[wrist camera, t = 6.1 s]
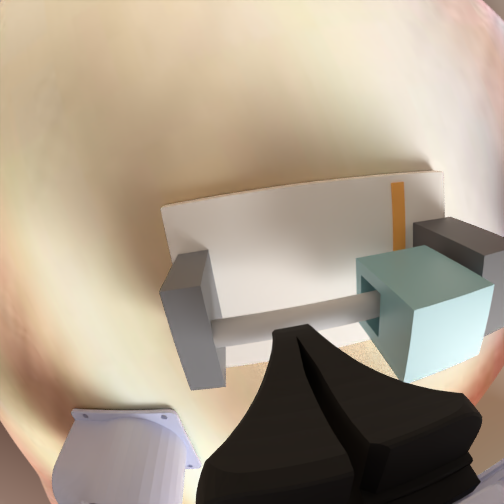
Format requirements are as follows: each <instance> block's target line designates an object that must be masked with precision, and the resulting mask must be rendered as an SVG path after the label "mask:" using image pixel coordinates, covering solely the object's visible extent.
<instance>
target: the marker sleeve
mask: <svg viewBox="0 0 504 504" xmlns="http://www.w3.org/2000/svg"><path fill="white" fill-rule="evenodd" d="M374 290H377V291H378V292H379V293H380V294H381V296H380V317H377V318H373V319H369V320H365V321H361V322H359V324H360V325H361V326H362V328H363V329H364V330H365V332H366V333H367V335H368V336H369V337H370V339H371V340H372V342H373V343H374V344H375V346H376V347H377V349H378V350H379V351H380V353H381V354H382V356H383V357H384V359H385V360H386V361H387V363H388V364H389V366H390V367H391V369H392V370H393V371H394V373H395V374H396V376H397V377H398V379H399V380H400V381H403V382H406V383H411V382H414V381H416V380H419V379H422V378H424V377H427V376H430V375H432V374H435V373H437V372H440V371H442V370H445V369H447V368H449V367H452V366H454V365H456V364H459V363H461V362H463V361H465V360H468V359H470V358H472V357H474V356H476V355H478V354H479V351H480V348H481V344H482V340H483V337H484V333H485V329H486V324H487V320H488V316H489V311H490V306H491V301H492V296H493V290H494V284H493V283H491V282H490V281H488V280H486V279H485V278H483V277H481V276H480V275H478V274H476V273H475V272H473V271H471V270H469V269H468V268H466V267H464V266H462V265H461V264H459V263H457V262H455V261H454V260H452V259H450V258H448V257H446V256H445V255H443V254H441V253H439V252H437V251H435V250H433V249H432V248H430V247H428V246H426V245H423V246H418V247H412V248H407V249H402V250H397V251H392V252H386V253H381V254H376V255H370V256H365V257H360V258H356V292H357V294H361V293H365V292H370V291H374Z"/></svg>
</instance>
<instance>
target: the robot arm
mask: <svg viewBox="0 0 504 504" xmlns="http://www.w3.org/2000/svg"><path fill="white" fill-rule="evenodd" d="M272 338H273V341H272V350H271V355H270V359H269V363H268V367H267V370H266V372H265V375H264V378H263V381H262V383H261V386H260V388H259V390H258V393H257V395H256V397H255V399H254V401H253V402H252V404H251V406H250V407H249V409H248V411H247V413H246V414H245V416H244V417H243V419H242V420H241V422H240V423H239V424H238V426H237V427H236V428H235V429H234V431H233V432H232V433H231V435H230V436H229V437H228V438H227V440H226V441H225V442H224V443H223V444H222V445H221V446H220V447H219V448H218V449H217V450H216V451H215V452H214V453H213V454H212V455H211V456H210V457H209V458H208V459H207V460H206V461H205V463H204V466H203V469H202V472H201V475H200V479H199V482H198V487H197V493H196V504H504V458H503V459H502V460H500V461H499V462H497V463H496V464H495V465H493V466H491V467H490V468H488V469H487V470H486V471H484V472H482V473H481V474H479V475H476V473H475V472H474V470H473V469H472V467H471V466H470V464H471V463H472V461H473V459H472V457H471V455H470V454H469V452H468V450H469V449H470V447H471V445H472V443H473V442H474V440H475V438H476V436H477V434H478V432H479V430H480V427H481V424H482V416H481V414H480V413H479V412H478V410H477V409H476V408H475V406H474V405H473V404H472V403H471V402H470V401H469V399H468V398H467V397H466V396H465V395H464V394H463V393H455V392H447V391H440V390H433V389H429V388H424V387H420V386H416V385H413V384H409V383H406V382H403V381H400V380H397V379H394V378H392V377H389V376H386V375H384V374H382V373H379V372H377V371H375V370H373V369H371V368H369V367H367V366H365V365H363V364H362V363H360V362H358V361H356V360H355V359H353V358H352V357H350V356H349V355H347V354H346V353H344V352H343V351H341V350H340V349H339V348H337V347H336V346H335V345H333V344H332V343H331V342H329V341H328V340H327V339H326V338H325V337H323V336H322V335H321V334H320V333H319V332H317V331H316V330H315V329H314V328H313V327H312V326H311V325H309V324H303V325H298V326H293V327H287V328H282V329H276V330H274V331H273V332H272ZM71 414H72V416H73V418H74V419H75V421H74V423H73V425H72V427H71V429H70V432H69V434H68V436H67V438H66V440H65V443H64V445H63V447H62V449H61V452H60V454H59V456H58V459H57V461H56V463H55V466H54V469H53V474H52V488H53V493H54V496H55V498H56V500H57V502H58V504H182V500H183V488H184V477H185V469H195V468H200V467H201V461H200V459H199V457H198V456H197V454H196V452H195V450H194V448H193V446H192V444H191V442H190V439H189V437H188V435H187V433H186V431H185V429H184V427H183V425H182V423H181V420H180V418H179V416H178V414H177V412H176V411H174V410H172V409H164V410H91V409H72V411H71ZM164 415H165V416H164Z"/></svg>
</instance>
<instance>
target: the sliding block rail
mask: <svg viewBox="0 0 504 504" xmlns="http://www.w3.org/2000/svg"><path fill="white" fill-rule="evenodd" d="M160 209H161V214H162V219H163V224H164V229H165V233H166V238H167V242H168V247H169V251H170V256H171V260H172V264H173V265H172V267H171V269H170V271H169V273H168V275H167V277H166V279H165V281H164V283H163V285H162V287H161V289H160V291H159V293H160V296H161V300H162V303H163V307H164V310H165V313H166V317H167V320H168V323H169V327H170V330H171V333H172V336H173V340H174V343H175V346H176V349H177V352H178V355H179V358H180V361H181V364H182V367H183V370H184V372H185V375H186V378H187V381H188V384H189V387H190V389H191V390H200V389H210V388H219V387H226V368H227V367H235V366H242V365H249V364H255V363H261V362H268V361H269V359H270V355H271V350H272V341H273V338H272V332H273V331H274V330H276V329H282V328H287V327H293V326H298V325H303V324H309V325H311V326H312V327H313V328H314V329H315V330H316V331H317V332H319V333H320V334H321V335H322V336H323V337H325V338H326V339H327V340H328V341H329V342H331V343H332V344H333V345H335V346H336V347H337V348H338V347H342V346H347V345H351V344H355V343H359V342H363V341H367V340H371V339H370V337H369V336H368V335H367V333H366V332H365V330H364V329H363V328H362V326H361V325H360V324H359V322H361V321H365V320H369V319H373V318H377V317H380V296H381V294H380V293H379V292H378V291H377V290H374V291H370V292H365V293H361V294H357V292H356V258H360V257H365V256H370V255H376V254H381V253H386V252H392V251H397V250H402V249H407V248H412V247H418V246H423V245H426V246H428V247H430V248H432V249H433V250H435V251H437V252H439V253H441V254H443V255H445V256H446V257H448V258H450V259H452V260H454V261H455V262H457V263H459V264H461V265H462V266H464V267H466V268H468V269H469V270H471V271H473V272H475V273H476V274H478V275H480V276H481V277H483V278H485V279H486V280H488V281H490V282H491V283H493V284H494V290H493V296H492V301H491V306H490V311H489V316H488V320H487V324H486V329H485V333H484V336H486V335H488V334H491V333H493V332H495V331H497V330H499V329H501V328H503V327H504V237H502V236H499V235H497V234H494V233H492V232H489V231H487V230H484V229H482V228H479V227H476V226H474V225H471V224H469V223H466V222H463V221H460V220H458V219H455V218H452V217H446V218H445V202H444V173H443V172H441V171H434V170H433V171H417V172H404V173H391V174H379V175H368V176H358V177H348V178H339V179H330V180H321V181H313V182H305V183H297V184H290V185H282V186H275V187H268V188H261V189H255V190H248V191H242V192H236V193H229V194H223V195H217V196H211V197H206V198H200V199H194V200H189V201H184V202H178V203H173V204H168V205H164V206H163V207H161V208H160Z"/></svg>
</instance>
